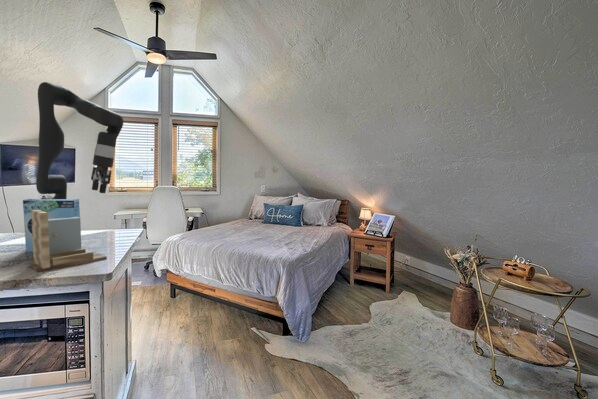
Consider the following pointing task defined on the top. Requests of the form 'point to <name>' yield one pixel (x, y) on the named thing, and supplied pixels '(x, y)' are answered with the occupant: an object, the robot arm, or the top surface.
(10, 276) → the top surface
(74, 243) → the grey flat block
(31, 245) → the gum box
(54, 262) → the hinge base
